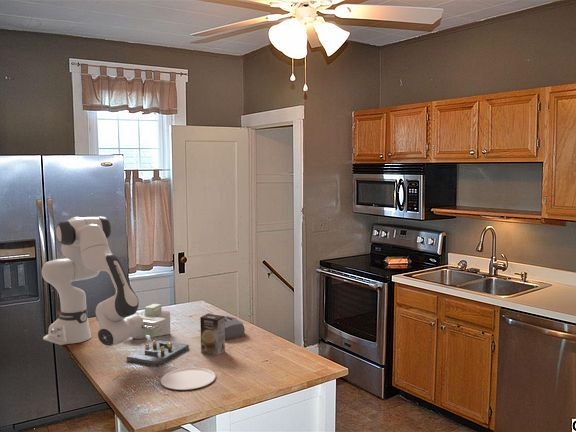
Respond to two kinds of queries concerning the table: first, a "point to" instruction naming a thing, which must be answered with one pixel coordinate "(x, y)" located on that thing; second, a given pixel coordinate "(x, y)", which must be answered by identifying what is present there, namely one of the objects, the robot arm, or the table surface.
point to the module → (153, 311)
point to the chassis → (157, 353)
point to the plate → (188, 378)
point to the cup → (141, 335)
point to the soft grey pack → (233, 328)
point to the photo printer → (166, 329)
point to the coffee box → (212, 334)
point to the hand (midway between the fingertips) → (154, 316)
